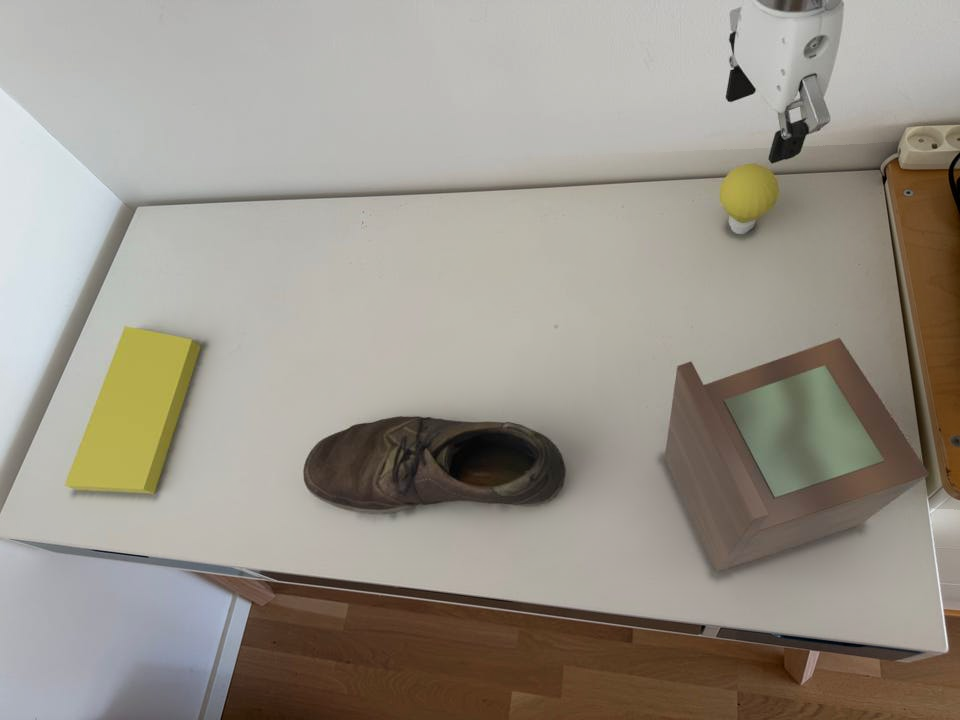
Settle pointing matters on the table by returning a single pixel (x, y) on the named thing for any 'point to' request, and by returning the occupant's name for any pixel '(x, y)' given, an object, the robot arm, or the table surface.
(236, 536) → the table surface
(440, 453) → the shoe
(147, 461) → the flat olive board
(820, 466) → the wooden frame
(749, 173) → the light bulb
